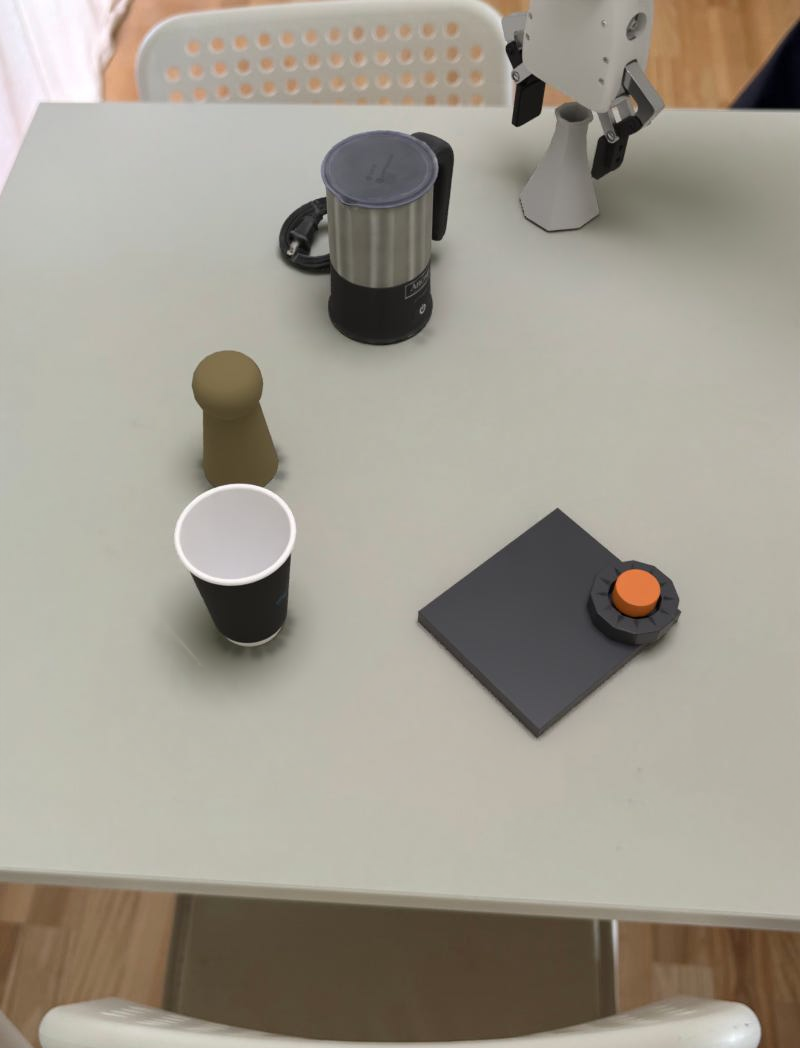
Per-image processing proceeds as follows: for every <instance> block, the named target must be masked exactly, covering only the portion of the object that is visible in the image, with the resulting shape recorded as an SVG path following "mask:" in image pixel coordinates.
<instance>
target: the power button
mask: <svg viewBox="0 0 800 1048" xmlns="http://www.w3.org/2000/svg"><path fill="white" fill-rule="evenodd" d="M659 596H660V585H659V583H658V581H657V580H656V578H655V577H654V576H653V575H651V574H650V573H648V572H646V571H643V570H638V569H633V570H628V571H626V572H624V573H622V574H621V575H620V576H619V577H618V579H617V581H616V584H615V587H614V590H613V593H612V600H613V603H614V605H615V606H616V608H617V609H618V610H619V611H620V612H622V613H623V614H625V615H628V616H631V617H642V616H645V615H647V614H649V613H651V612H652V611H653V609H654V608H655V606H656V603H657V601H658V598H659Z"/></svg>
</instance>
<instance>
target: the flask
mask: <svg viewBox="0 0 800 1048" xmlns="http://www.w3.org/2000/svg"><path fill="white" fill-rule="evenodd" d="M554 116H555V118H556V123H555V129H554V132H553V135H552V138H551V140H550V142H549V146H548V148H547V150H546V151H545V153H544V154H543V156H542V157H541V160H540V162H539V163H538V165H537V167H536V168H535V170H534V172H533V173H532V175H531V176H530V178H529V180H528V181H527V183H526V184H525V185H524V188H522V190H521V192H520V194H519V196H520V198H519V200H520V199H521V201H520V204H521V203H522V205H521V208H522V207H523V208H522V211H523V210H524V212H523V215H524V217H525V216H526V217H525V218H527V219H528V220H529V221H532V222H534V224H536V225H538V226H539V227H541V228H543V229H544V230H546V231H549V232H550V231H560V230H571V229H580V228H581V227H582V226H584V225H586V224H587V223H588V222H589V221H591V220H593V219H594V218H596V216H598V215H599V214H600V209H599V205H598V199H597V196H596V192H595V188H594V183H593V179H592V178H593V177H592V175H591V169H590V163H589V158H588V143H587V142H588V140H587V137H588V130H589V125H590V124H591V123H592V122H593V121H594V114H593V111H592V110H590V109H588V108H586V107H584V106H583V105H581V104H579V103H578V102H576V101H569V102H564V103H562V104H561V105H559V106H557V107H556V108H555V109H554Z"/></svg>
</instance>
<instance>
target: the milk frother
mask: <svg viewBox="0 0 800 1048" xmlns="http://www.w3.org/2000/svg"><path fill="white" fill-rule="evenodd" d="M454 152H455V151H454V149H453V147H452V145H450V143H449V142H448V141H446V140H444V139H442V138H441V137H439V136H436V135H434V134H430V133H427V132H423V131H416V132H413V133H411V134H409V133H405V132H401V131H394V130H386V129H385V130H381V129H378V130H371V131H364V132H360V133H359V132H358V133H355V134H352V135H349V136H347V137H346V138H344V139H343V138H342V140H340V141H338V142H337V143H335V144H334V145H333V146H331V148H330V149H329V150H328V152H327V153H326V154H325V156H324V157H323V160H322V162H321V165H320V176H321V180H322V183H323V184H324V186H325V196H323V197H319V198H316V199H314V200H310V201H308V202H306V203H304V204H302V205H300V206H299V207H298V208H296V209H295V210H293V211H292V212H291V213H290V214H289V215H288V216H287V217H286V219H285V220H284V222H283V223H282V225H281V228H280V232H279V235H278V244H279V248H280V250H281V251H280V252H281V253H282V255H283V256H284V257H285V259H286V260H287V261H289V262H290V264H293V265H294V266H296V267H297V268H298V267H299V268H301V269H304V270H307V271H316V272H318V271H319V272H320V271H324V270H329V272H330V277H329V278H330V294H329V297H328V302H327V311H328V314H329V318H330V320H331V322H332V324H334V326H335V327H336V328H337V329H338V330H339V331H340V332H341V333H343V334H344V335H346V336H347V337H348V338H350V339H353V340H356V341H358V342H362V343H366V344H377V345H378V344H379V345H380V344H383V345H385V344H391V343H397V342H401V341H404V340H407V339H408V338H411V337H413V336H414V335H415V334H417V333H418V332H419V331H421V330H422V329H423V328H424V327H425V326H426V324H427V323H428V322H429V320H430V318H431V317H432V316H431V315H432V313H433V308H434V301H433V295H432V293H431V291H432V290H431V263H432V261H431V260H432V244H433V243H432V241H434V242H440V241H442V240H443V238H444V236H445V235H446V232H447V227H448V218H449V209H450V200H451V192H452V182H453V175H454V165H455V153H454ZM324 216H327V217H326V218H327V234H328V249H329V253H327V254H322V255H315V256H312V255H306V254H302V253H301V252H299V250H301V251H303V252H306V253H310V252H311V245H312V244H313V241H314V238H315V235H316V233H317V232H318V231H319V230H320V228H319V224H320V223H321V222H322V221H323V219H324Z"/></svg>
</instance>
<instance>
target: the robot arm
mask: <svg viewBox="0 0 800 1048" xmlns="http://www.w3.org/2000/svg"><path fill="white" fill-rule="evenodd" d="M654 11H655V0H530V1H529V6H528V9H527V10H519V11H513V12H511V13H509V14H508V15H506V16H504V17H501V27H502V33H503V36H504V41H505V42H506V45H505V47H504V48H505V53H506V56H507V58H508V61H509V63H510V65H511V67H512V70H511V73H510V78H511V80H512V81H513V83H515V84H516V85H515V93H514V99H513V109H512V116H511V125H512V126H513V127H516V128H520V127H522V126H523V125H525V124H528V123H529V122H531V121H533V120H534V119H536V118H538V117H539V116H540V115H541V114H542V111H543V106H544V105H543V103H544V99H545V98H544V97H545V92H546V91H545V90H546V84H547V85H548V86H550V87H552V88H553V89H554V90H556V91H557V92H560V93H561V94H562V95H564V96H566V97H567V98H569V99H571V100H573V102H578V103H579V104H581V105H583V106H584V107H586V108H588V109H590V110H591V111H592V112H595V113H596V114H597V117H598V120H599V123H600V126H601V129H602V132H603V134H602V135H601V136H599V137H598V139H597V142H596V147H595V151H594V156H593V161H592V166H591V169H590V173H591V178H593V179H594V180H596V181H598V180H600V179H602V178H603V177H605V176H607V175H608V174H610V173H611V172H615V171H616V170H618V169H619V168H620V167H621V166H622V165H623V163H624V159H625V154H626V151H627V146H628V141H629V138H630V136H631V135H634V134H636V133H638V132H639V131H641V130H643V129H644V128H646V127H648V126H650V125H651V124H652V121H654V120H655V119H656V118H657V117H658V116H659V115H660V113H661V112H662V111H663V110H664V109H665V106H666V104H665V101H664V99H663V98H662V97H661V95H660V94H659V92H658V91H657V90H656V88H655V87H654V85H653V84H652V82H651V81H650V79H649V78H648V77H647V75H646V72H647V66H648V60H649V54H650V49H651V41H652V34H653V26H654V25H653V24H654V13H655V12H654ZM631 98H632V99H633V101H634V102H635V104H636V106H637V110H636V111H635V108H634V105H633V102H632V99H631ZM615 107H616V108H617V111H618V115H619V118H620V120H619V121H618V122H617V120H616V117H615V114H614V111H613V108H615Z"/></svg>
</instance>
